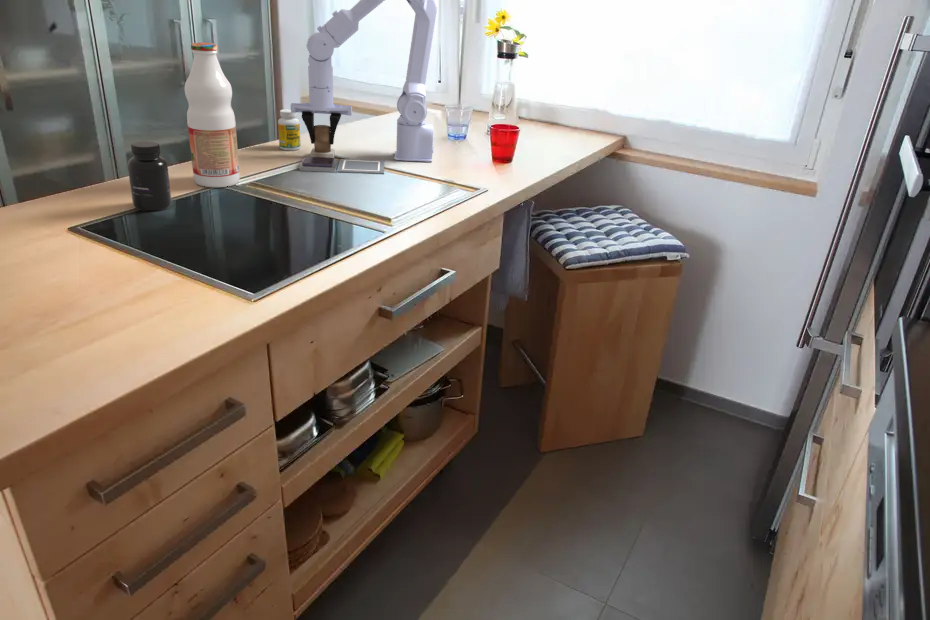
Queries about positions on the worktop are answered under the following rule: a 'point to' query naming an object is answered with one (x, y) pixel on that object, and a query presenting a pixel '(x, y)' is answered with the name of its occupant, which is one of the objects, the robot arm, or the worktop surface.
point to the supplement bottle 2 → (289, 131)
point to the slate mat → (361, 166)
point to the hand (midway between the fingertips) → (322, 143)
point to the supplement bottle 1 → (149, 177)
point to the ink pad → (318, 164)
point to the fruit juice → (211, 120)
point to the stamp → (322, 142)
